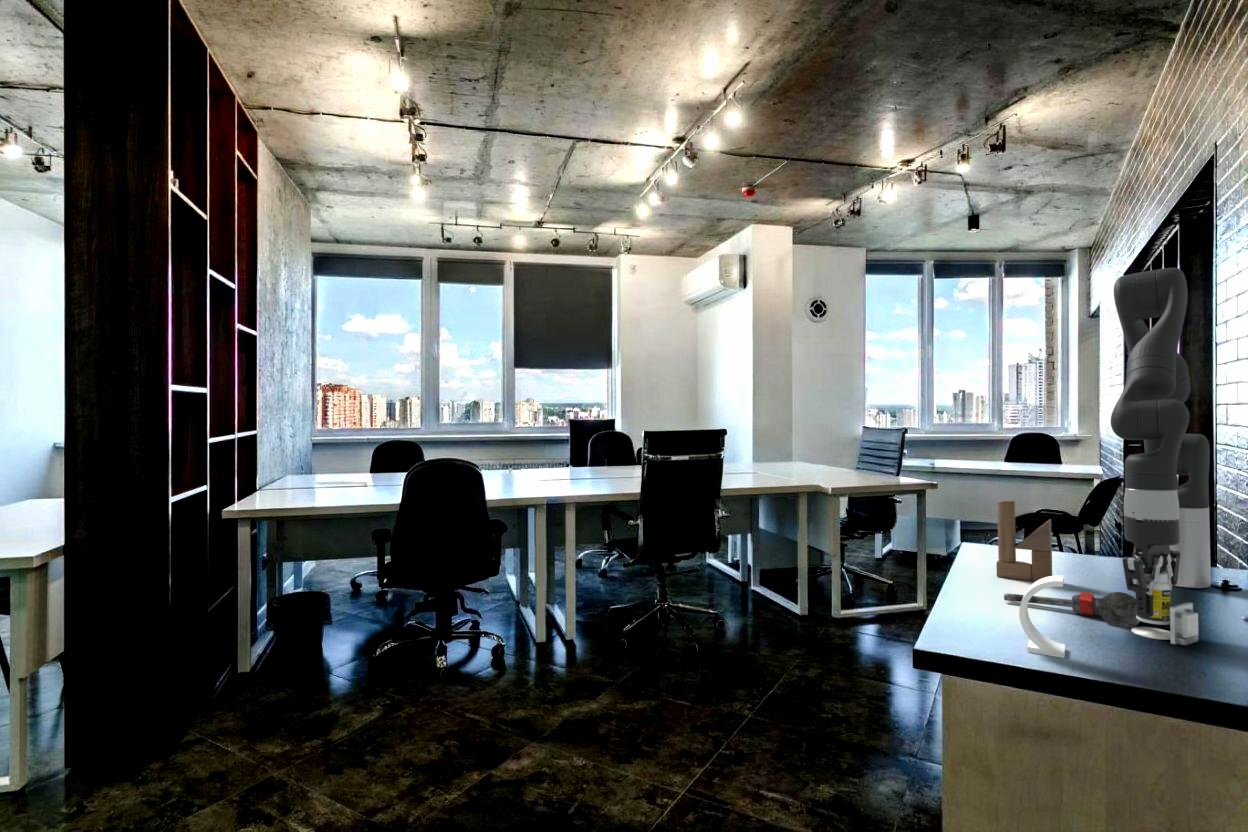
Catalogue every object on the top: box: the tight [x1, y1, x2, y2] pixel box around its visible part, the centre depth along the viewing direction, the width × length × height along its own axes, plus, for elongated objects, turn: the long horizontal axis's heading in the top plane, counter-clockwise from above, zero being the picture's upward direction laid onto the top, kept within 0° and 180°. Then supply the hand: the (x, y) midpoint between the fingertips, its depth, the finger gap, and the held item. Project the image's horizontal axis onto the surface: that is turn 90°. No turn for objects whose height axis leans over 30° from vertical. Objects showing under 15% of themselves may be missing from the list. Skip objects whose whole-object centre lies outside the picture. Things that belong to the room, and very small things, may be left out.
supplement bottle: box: [1136, 573, 1172, 626], centre depth 114 cm, size 5×5×8 cm
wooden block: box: [995, 499, 1053, 583], centre depth 154 cm, size 4×11×18 cm, turn 50°
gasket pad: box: [1131, 626, 1171, 641], centre depth 114 cm, size 6×6×1 cm
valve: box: [1003, 591, 1141, 629], centre depth 128 cm, size 6×26×15 cm
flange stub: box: [1169, 601, 1199, 646], centre depth 110 cm, size 6×2×6 cm, turn 117°
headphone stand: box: [1018, 574, 1066, 659], centre depth 108 cm, size 5×6×12 cm
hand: (1153, 612), depth 114 cm, fingers closed on supplement bottle, 4 cm apart
